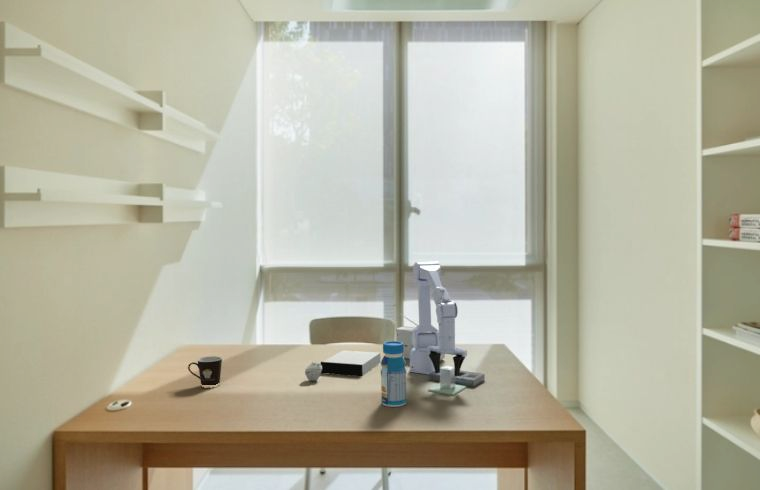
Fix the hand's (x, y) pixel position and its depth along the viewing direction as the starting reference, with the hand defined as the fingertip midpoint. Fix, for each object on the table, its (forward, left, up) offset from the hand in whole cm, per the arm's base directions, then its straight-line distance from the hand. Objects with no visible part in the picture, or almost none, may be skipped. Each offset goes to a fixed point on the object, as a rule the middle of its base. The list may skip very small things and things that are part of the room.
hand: (447, 374), depth 198 cm
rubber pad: (0, 0, -5) cm, 5 cm away
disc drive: (-47, +7, -6) cm, 48 cm away
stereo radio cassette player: (-30, +34, -6) cm, 46 cm away
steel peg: (0, 0, -5) cm, 5 cm away
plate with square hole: (-2, +12, -5) cm, 13 cm away
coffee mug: (-78, -41, -6) cm, 88 cm away
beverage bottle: (-8, -23, -6) cm, 25 cm away
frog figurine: (-48, -16, -6) cm, 51 cm away
